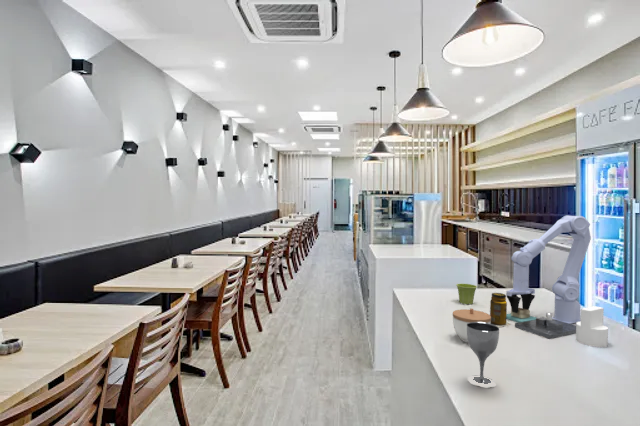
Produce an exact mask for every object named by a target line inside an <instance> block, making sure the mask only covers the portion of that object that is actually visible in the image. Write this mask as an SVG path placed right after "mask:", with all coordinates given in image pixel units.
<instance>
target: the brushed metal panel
mask: <svg viewBox="0 0 640 426" xmlns="http://www.w3.org/2000/svg"><path fill="white" fill-rule="evenodd" d="M545 314H546V315H545V317H544V316H540V317H536V320H532V321H526V322H520V323H518V322H514V328H516V329H520V330H522V331H525V332H527V333H531V334H532V335H533V334H534V335H537V336H538V337H539V336H540V337H542V338H546V339H549V340H550V339H551V340H552V339H555V338H561V337H566V336H572V335H576V325H575V324H573V323H572V324H569V323H565V322H562V321H558V320H555V319H552V317H553V313H552V312H546V313H545Z"/></svg>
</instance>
